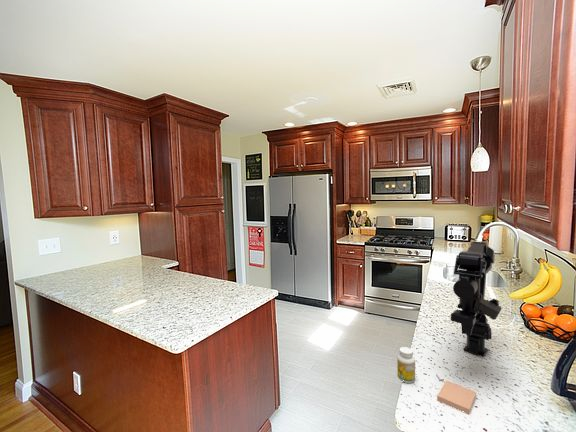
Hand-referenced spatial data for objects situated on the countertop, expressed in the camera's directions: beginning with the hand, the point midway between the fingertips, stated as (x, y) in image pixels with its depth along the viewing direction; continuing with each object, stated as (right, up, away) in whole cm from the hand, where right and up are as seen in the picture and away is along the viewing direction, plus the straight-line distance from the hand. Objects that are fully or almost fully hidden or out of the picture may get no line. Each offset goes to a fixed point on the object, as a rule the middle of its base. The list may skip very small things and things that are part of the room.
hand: (468, 335), depth 95 cm
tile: (-8, -12, -9) cm, 18 cm away
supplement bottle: (-22, -13, -3) cm, 26 cm away
